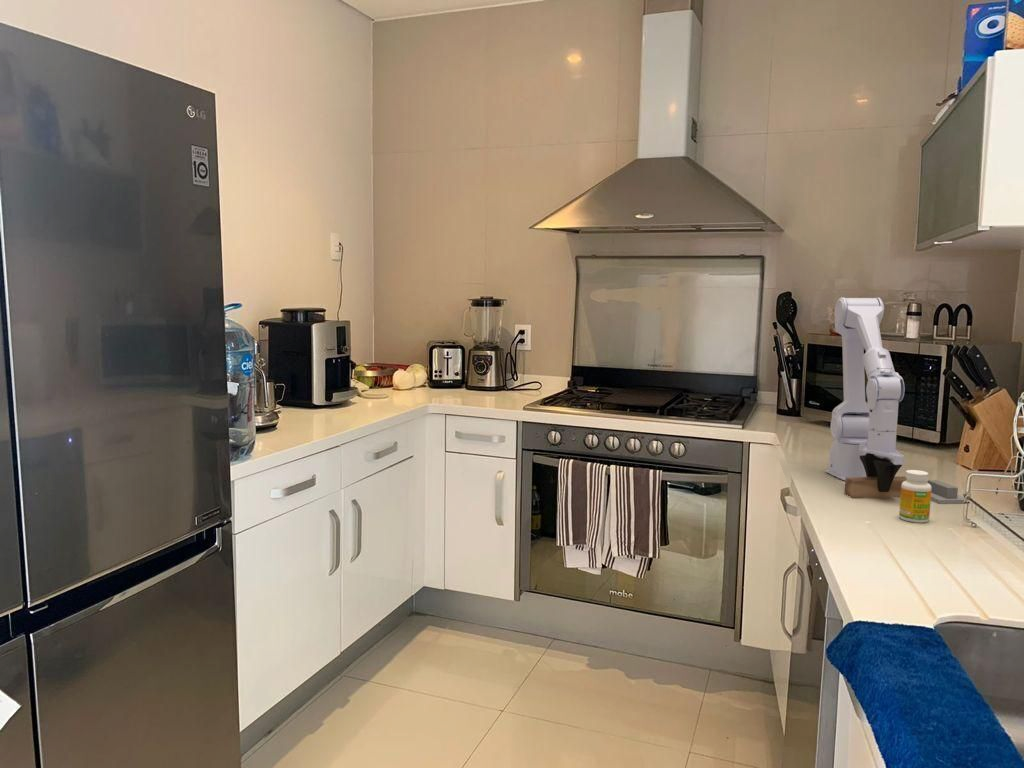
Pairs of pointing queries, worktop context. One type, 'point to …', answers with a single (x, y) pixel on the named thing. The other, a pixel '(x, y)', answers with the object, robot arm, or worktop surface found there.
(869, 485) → the beam
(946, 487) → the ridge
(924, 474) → the supplement bottle
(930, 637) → the worktop surface
